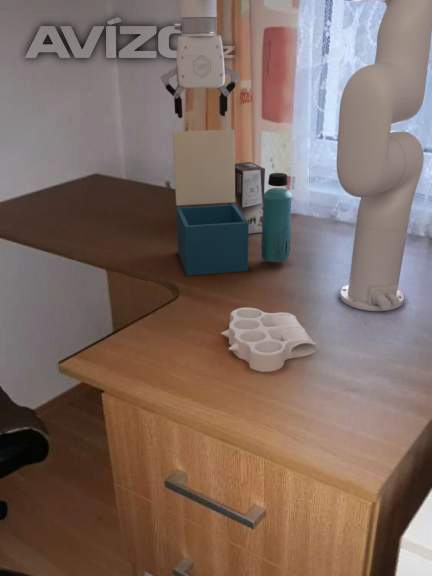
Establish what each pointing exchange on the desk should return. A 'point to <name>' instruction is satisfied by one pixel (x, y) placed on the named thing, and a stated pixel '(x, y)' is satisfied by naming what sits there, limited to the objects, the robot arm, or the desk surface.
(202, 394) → the desk surface
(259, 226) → the coffee box
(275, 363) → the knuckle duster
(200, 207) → the box
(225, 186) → the cooler lid
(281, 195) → the beverage bottle
